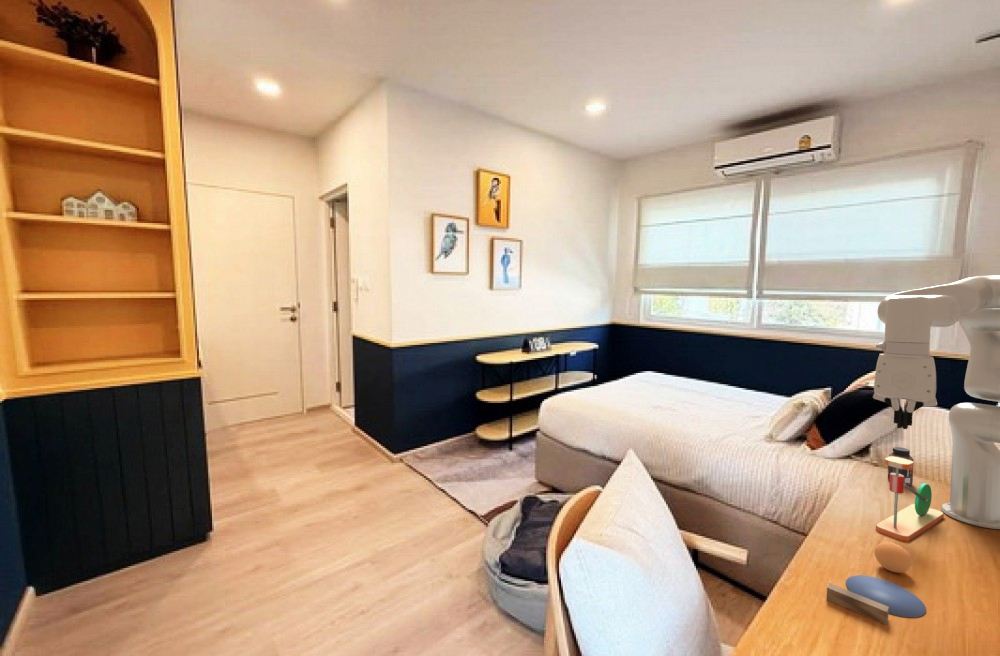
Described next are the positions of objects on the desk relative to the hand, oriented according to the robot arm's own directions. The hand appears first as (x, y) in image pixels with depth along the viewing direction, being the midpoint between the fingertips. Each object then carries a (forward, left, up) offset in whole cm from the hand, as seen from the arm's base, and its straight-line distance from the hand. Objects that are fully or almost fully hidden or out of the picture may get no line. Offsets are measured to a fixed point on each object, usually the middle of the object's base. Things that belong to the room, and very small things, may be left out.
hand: (902, 427), depth 97 cm
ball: (+5, +8, -28) cm, 29 cm away
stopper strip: (+19, +24, -31) cm, 43 cm away
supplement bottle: (-25, -46, -31) cm, 61 cm away
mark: (+12, +18, -31) cm, 37 cm away
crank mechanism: (-12, -17, -31) cm, 37 cm away
